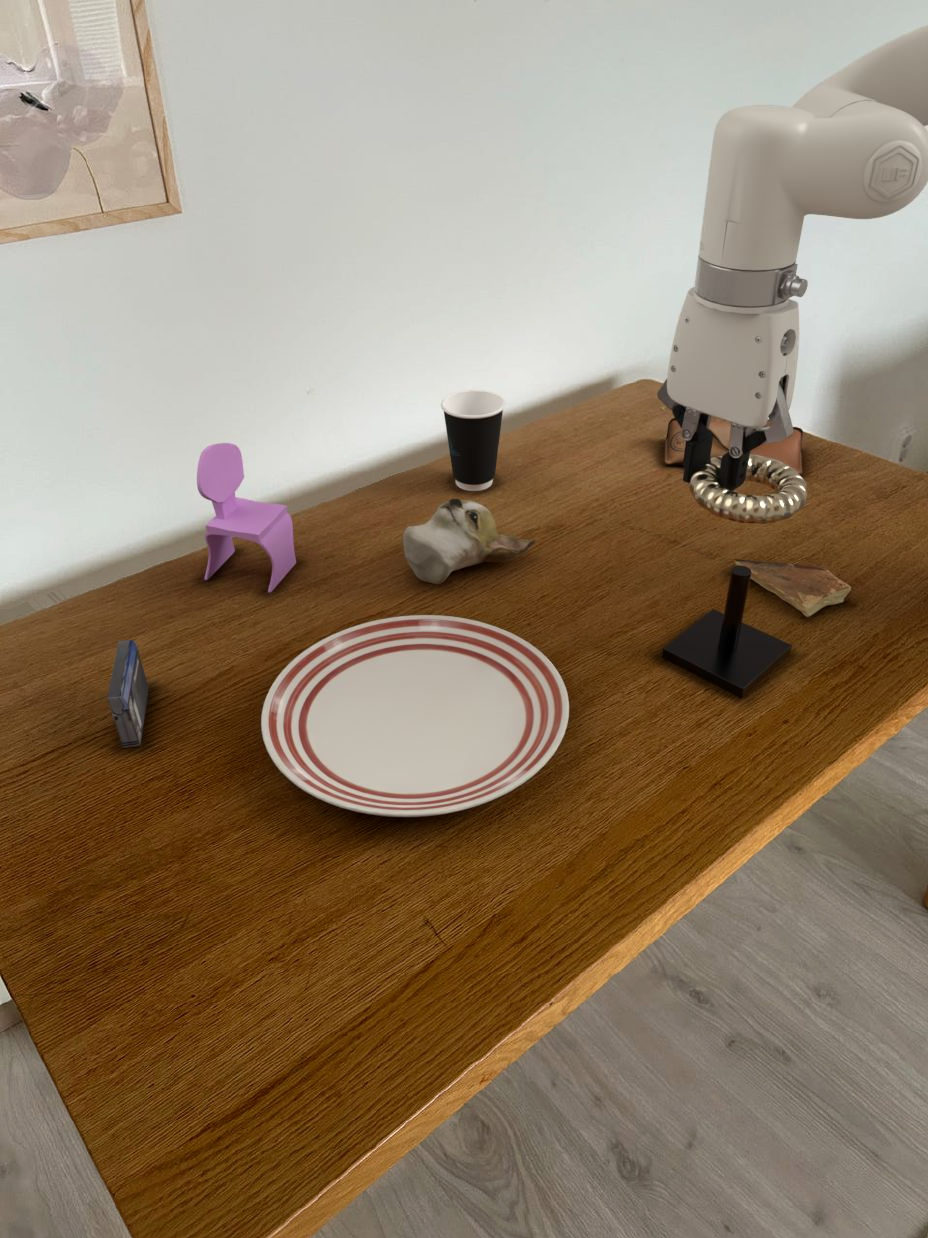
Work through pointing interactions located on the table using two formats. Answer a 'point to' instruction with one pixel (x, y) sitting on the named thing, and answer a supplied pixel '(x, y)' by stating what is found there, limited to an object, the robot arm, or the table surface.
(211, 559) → the toy chair
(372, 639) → the dinner plate
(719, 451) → the sunglasses case
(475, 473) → the dixie cup
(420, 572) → the ceramic sculpture
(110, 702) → the mini dv tape
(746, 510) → the ribbed metal ring
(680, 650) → the stand
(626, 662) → the table surface
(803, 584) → the shard
